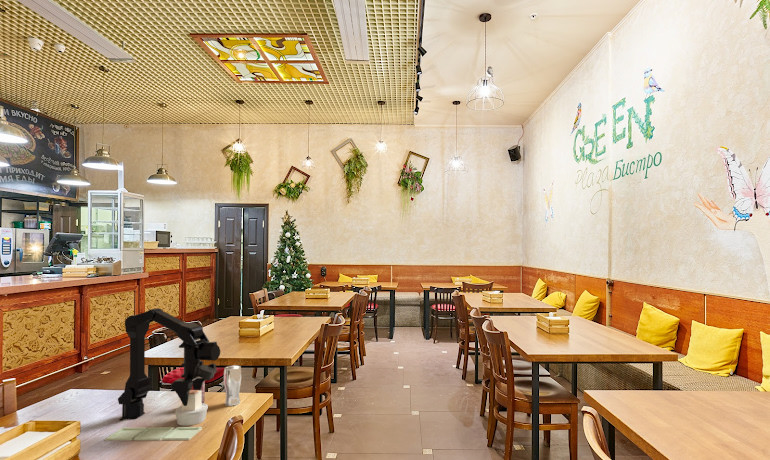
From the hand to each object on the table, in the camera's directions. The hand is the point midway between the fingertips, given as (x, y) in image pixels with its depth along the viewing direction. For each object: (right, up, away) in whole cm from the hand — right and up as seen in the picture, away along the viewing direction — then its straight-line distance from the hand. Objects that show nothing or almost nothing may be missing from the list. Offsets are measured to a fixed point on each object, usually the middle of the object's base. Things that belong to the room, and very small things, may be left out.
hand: (191, 401), depth 157 cm
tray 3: (+3, -7, -12) cm, 14 cm away
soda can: (-5, -9, +15) cm, 18 cm away
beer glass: (+9, -9, +18) cm, 22 cm away
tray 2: (-7, -7, -12) cm, 16 cm away
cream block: (0, -2, 0) cm, 2 cm away
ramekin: (0, -8, 0) cm, 8 cm away
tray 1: (-17, -7, -12) cm, 22 cm away
